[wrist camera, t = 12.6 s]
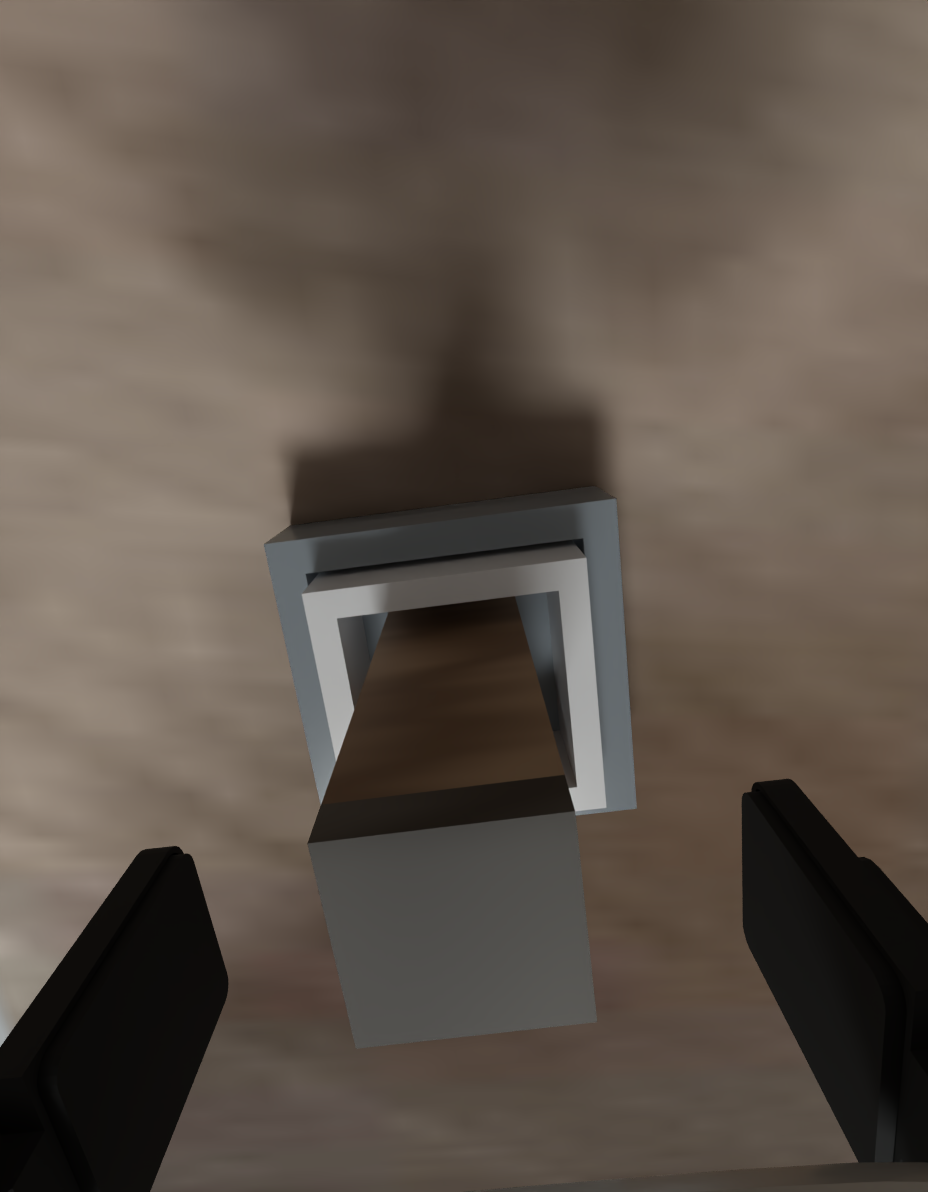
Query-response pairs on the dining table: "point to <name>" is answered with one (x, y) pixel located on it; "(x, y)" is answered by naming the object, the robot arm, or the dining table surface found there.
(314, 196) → the dining table surface
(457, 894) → the brown tall boxy piece
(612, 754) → the candle tray
